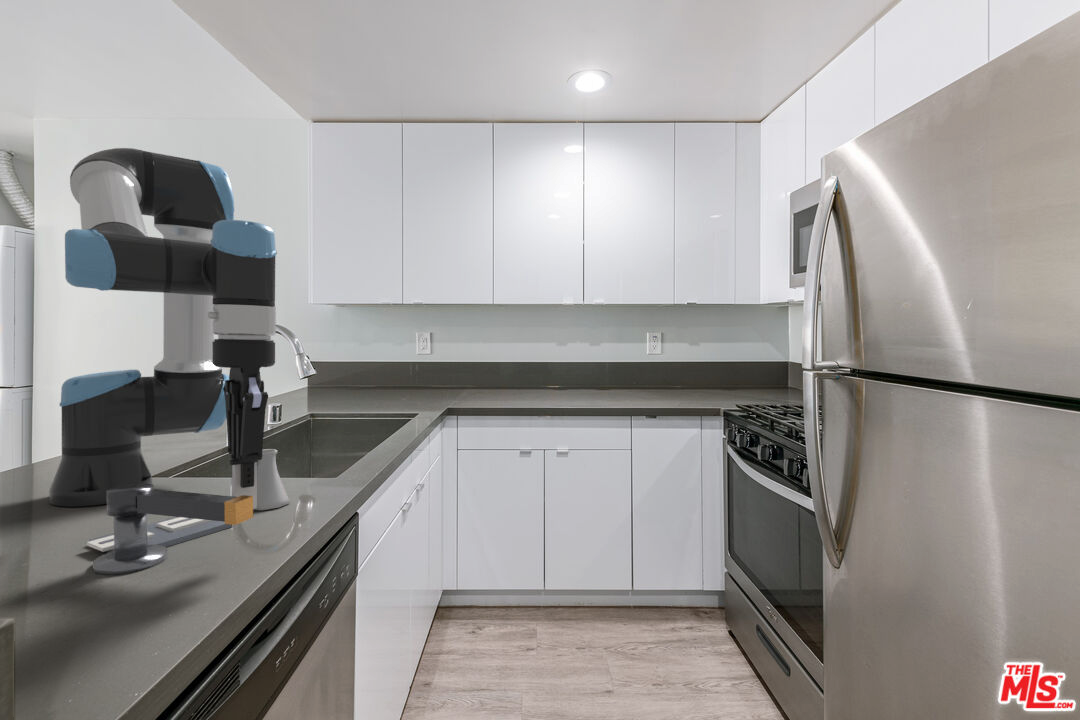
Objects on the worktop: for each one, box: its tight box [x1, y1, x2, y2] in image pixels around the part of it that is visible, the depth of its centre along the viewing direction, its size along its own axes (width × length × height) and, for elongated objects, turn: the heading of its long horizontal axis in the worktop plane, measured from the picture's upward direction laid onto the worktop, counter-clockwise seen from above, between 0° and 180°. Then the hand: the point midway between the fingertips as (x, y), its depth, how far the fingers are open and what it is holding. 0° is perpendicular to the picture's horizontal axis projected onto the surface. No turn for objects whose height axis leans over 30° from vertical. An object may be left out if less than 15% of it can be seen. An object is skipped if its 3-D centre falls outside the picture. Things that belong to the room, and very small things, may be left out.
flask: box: [253, 448, 291, 511], centre depth 98 cm, size 7×7×10 cm
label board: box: [86, 516, 233, 553], centre depth 82 cm, size 10×16×1 cm, turn 152°
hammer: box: [106, 483, 254, 526], centre depth 71 cm, size 20×5×3 cm, turn 78°
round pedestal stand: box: [92, 513, 168, 576], centre depth 73 cm, size 8×8×6 cm
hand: (244, 508), depth 75 cm, fingers closed
